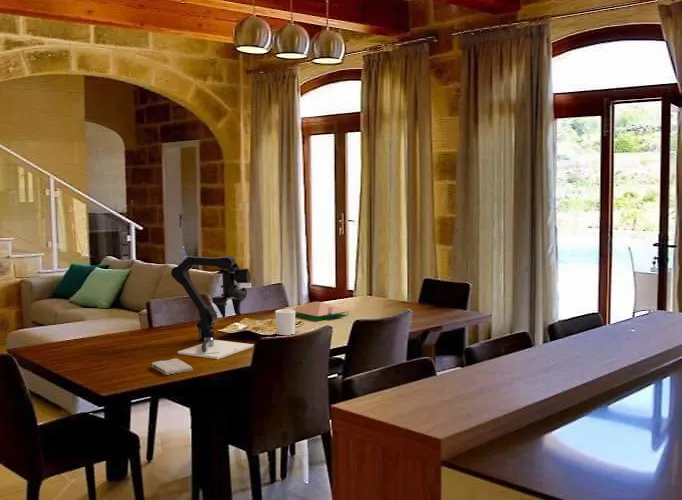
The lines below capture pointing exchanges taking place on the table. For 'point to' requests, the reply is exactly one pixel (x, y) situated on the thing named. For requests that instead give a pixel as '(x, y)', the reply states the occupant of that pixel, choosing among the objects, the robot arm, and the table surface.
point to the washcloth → (171, 366)
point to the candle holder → (285, 321)
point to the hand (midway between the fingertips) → (230, 315)
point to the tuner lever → (207, 343)
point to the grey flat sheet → (216, 349)
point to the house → (320, 310)
